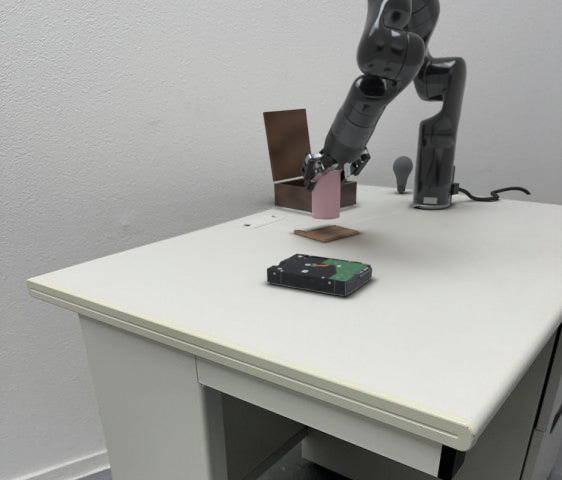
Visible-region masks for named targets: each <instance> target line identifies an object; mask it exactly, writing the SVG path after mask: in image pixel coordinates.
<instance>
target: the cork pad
mask: <svg viewBox="0 0 562 480" xmlns="http://www.w3.org/2000/svg"><path fill="white" fill-rule="evenodd" d="M293 234H295V235H299V236H302V237H305V238H309V239H312V240H316V241H319V242H322V243H326V242H329V241H330V242H331V241H335V240H338V239H341V238H346V237H350V236H354V235H357V234H359V230H356V229H352V228H349V227H344V226H340V225H336V224H333V225H328V226H325V227H321V228H316V229H311V230H307V231H305V230H302V229H296V230H293Z"/></svg>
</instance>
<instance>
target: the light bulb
mask: <svg viewBox="0 0 562 480" xmlns="http://www.w3.org/2000/svg"><path fill="white" fill-rule="evenodd" d="M413 169H414V163H413V161H412V159H411V158H410V157H409V156H406V155H401V156H399V157H397V158H396V159H395V160H394V161H393V164H392V171H393V174H394V176H395V180H396V191H397V192H398V193H399V194H403V193H405V192H406V189H407V188H406V187H407V183H408V179H409V177H410V175H411V173H412V172H413Z"/></svg>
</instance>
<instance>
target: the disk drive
mask: <svg viewBox="0 0 562 480" xmlns="http://www.w3.org/2000/svg"><path fill="white" fill-rule="evenodd" d="M372 277H373V267H372V264H369V263H363V262H362V261H352V260H346V259H339V258H332V257H325V256H318V255H311V254H305V253H295V254H293V255H292V256H289V257H287V258H285V259H283V260H281V261H279V263H278V265H271V266H269V267H267V268H266V281H267V283H271V284H273V285H278V286H284V287H290V288H294V289H301V290H308V291H313V292H317V293H323V294H328V295H335V296H341V297H342V296H344V297H347V296H348V295H349V294H351V293H353V292H355V291H356V290H357V289H358V288H360V287H361V286H363V285H364V284H365V283H367V282H368V281H370V280H371V278H372Z"/></svg>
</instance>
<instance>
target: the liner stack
mask: <svg viewBox="0 0 562 480" xmlns="http://www.w3.org/2000/svg"><path fill="white" fill-rule="evenodd" d="M322 168H323V170H324V167H322ZM341 172H342V170H333V171H330V172H329V173H328V174H326V175H325V176H324V177H322V176H321V177H320V178H319V179H318V180H317V181H316V184H315V186H314V188H313V190H312V212H311V217H312V218H313V219H315V220H322V221H323V220H325V221H326V220H336V219H339V218H340V217H341V208H340V182H341ZM314 173H315V174H316V173H317V170H316V171H315V172H314Z"/></svg>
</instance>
